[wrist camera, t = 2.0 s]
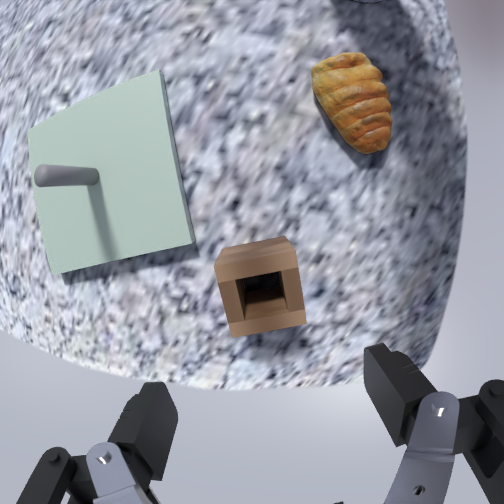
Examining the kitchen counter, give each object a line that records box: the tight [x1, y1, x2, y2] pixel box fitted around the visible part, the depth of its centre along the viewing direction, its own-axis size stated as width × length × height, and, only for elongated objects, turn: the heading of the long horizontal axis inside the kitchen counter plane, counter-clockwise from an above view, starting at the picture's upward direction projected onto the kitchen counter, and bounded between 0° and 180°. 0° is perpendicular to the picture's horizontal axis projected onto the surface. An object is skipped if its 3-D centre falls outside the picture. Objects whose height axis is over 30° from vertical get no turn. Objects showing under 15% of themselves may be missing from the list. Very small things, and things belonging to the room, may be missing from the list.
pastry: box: [312, 52, 392, 154], centre depth 21 cm, size 9×7×4 cm
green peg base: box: [28, 70, 195, 275], centre depth 19 cm, size 16×16×9 cm
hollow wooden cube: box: [214, 236, 307, 338], centre depth 23 cm, size 6×6×6 cm
